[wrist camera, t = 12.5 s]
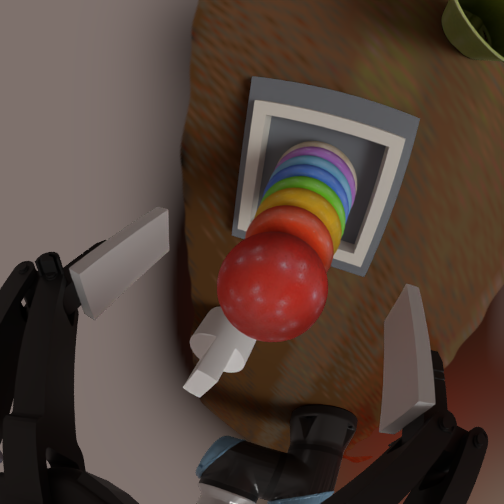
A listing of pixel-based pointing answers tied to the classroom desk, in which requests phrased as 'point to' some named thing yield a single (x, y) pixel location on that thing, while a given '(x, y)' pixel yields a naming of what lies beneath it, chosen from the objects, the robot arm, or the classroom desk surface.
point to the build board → (338, 135)
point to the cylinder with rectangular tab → (216, 351)
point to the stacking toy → (289, 245)
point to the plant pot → (476, 28)
